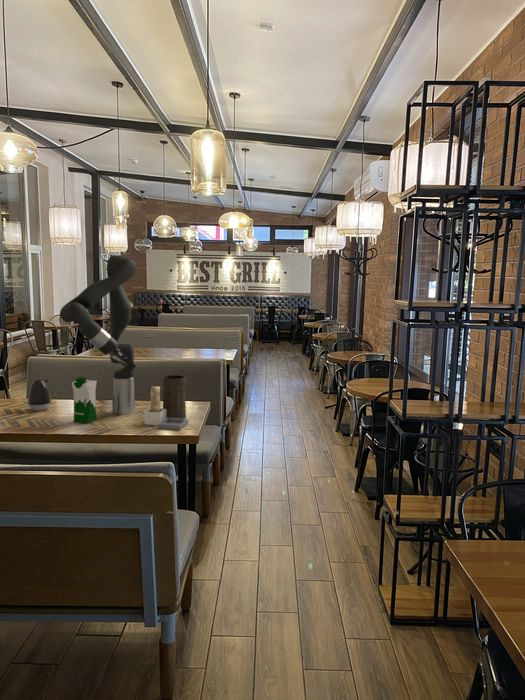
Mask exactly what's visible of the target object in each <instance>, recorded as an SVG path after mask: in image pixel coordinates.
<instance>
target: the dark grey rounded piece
mask: <svg viewBox="0 0 525 700" xmlns="http://www.w3.org/2000/svg"><path fill="white" fill-rule="evenodd" d="M49 381H50V379H49V378H47V379H45V380H43V379H42V378H37V379H34V380H33V381H32V383H31V385H30V389H29V392H28V397H27V405H28V406H29V408H30V410H32V411H34V412H43V411H46V410H47V409H49V408H50V406H51V403H52V397H51V393H50V390H49V387H48V385H47V383H48V382H49Z"/></svg>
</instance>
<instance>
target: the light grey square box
mask: <svg viewBox="0 0 525 700" xmlns="http://www.w3.org/2000/svg"><path fill="white" fill-rule="evenodd" d="M143 412H144V414H143V415H144V425H149V426H151V425H152V426H158V423H160V422H161V421H163V420H164V419H166V409H163V408H160V412H159V413H157V412H151V407H150V408H148V409H147V410H145V411H143Z"/></svg>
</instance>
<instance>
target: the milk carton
mask: <svg viewBox="0 0 525 700" xmlns="http://www.w3.org/2000/svg"><path fill="white" fill-rule="evenodd" d="M97 383H98V380H92V379H91V380H90V379H87V378H86V377H84V376H79V377H76V378H75V381H72V382H71V387H72V391H73V393H72V394H73V423H77V422H78V423H80V424H85V423H87V424H90V423H92V422H95V421H97V420H98V418H97V417H98V416H97V409H96V408H97V403H96V390H97V389H96V388H97ZM94 420H95V421H94ZM89 422H90V423H89Z"/></svg>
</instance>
